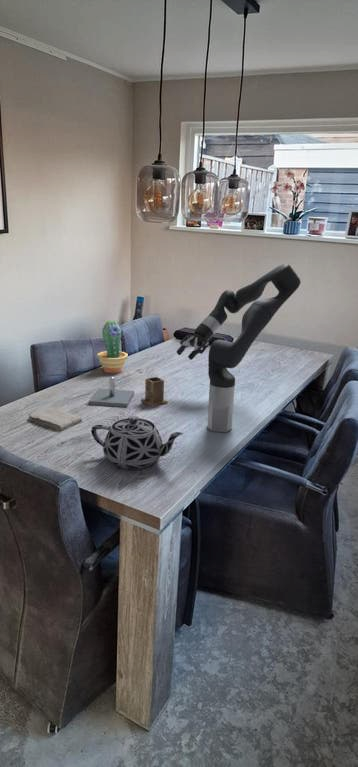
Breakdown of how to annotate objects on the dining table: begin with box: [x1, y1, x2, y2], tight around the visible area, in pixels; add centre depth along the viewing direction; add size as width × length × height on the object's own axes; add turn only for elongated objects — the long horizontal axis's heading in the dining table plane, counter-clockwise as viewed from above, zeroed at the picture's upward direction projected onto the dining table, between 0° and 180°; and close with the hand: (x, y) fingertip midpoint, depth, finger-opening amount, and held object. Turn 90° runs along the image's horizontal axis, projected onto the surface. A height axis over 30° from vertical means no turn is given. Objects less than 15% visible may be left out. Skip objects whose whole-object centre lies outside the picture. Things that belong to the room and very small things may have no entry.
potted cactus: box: [96, 320, 128, 374], centre depth 254 cm, size 15×15×25 cm
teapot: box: [90, 415, 184, 470], centre depth 163 cm, size 19×31×15 cm, turn 75°
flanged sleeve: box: [140, 376, 168, 408], centre depth 215 cm, size 8×8×10 cm
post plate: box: [88, 376, 135, 408], centre depth 216 cm, size 16×16×10 cm
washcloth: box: [28, 406, 83, 431], centre depth 194 cm, size 12×18×3 cm, turn 58°
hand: (183, 356), depth 219 cm, fingers open, 8 cm apart
